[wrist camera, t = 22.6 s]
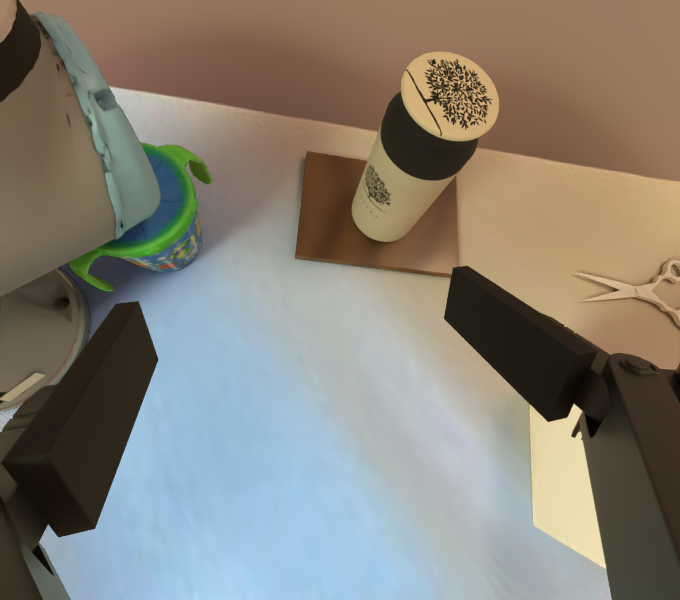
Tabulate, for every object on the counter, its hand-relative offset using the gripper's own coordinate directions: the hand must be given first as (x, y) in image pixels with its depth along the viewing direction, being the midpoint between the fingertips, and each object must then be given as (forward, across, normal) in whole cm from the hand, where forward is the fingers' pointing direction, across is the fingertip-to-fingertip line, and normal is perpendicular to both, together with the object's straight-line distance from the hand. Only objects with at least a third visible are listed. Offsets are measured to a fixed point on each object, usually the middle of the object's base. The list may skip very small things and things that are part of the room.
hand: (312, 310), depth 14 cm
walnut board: (+27, +13, -4) cm, 31 cm away
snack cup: (+28, -12, -5) cm, 30 cm away
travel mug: (+27, +13, -3) cm, 30 cm away
